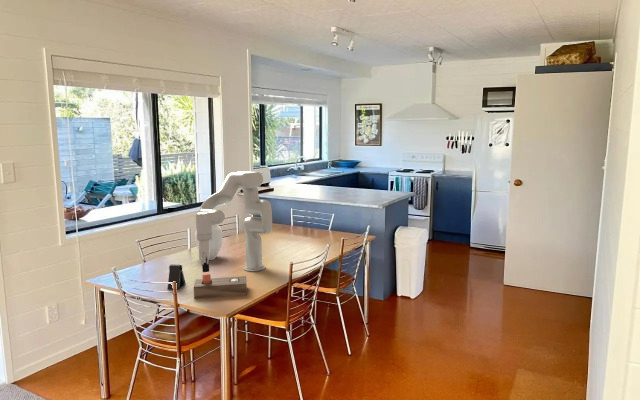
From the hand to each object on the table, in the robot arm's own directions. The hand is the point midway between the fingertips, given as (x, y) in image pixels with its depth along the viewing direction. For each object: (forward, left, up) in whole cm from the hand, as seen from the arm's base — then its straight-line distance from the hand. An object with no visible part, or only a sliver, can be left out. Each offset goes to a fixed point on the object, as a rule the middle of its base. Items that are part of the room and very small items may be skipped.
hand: (205, 271), depth 236 cm
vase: (-66, -3, -12) cm, 67 cm away
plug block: (0, +7, -12) cm, 14 cm away
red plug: (0, 0, -7) cm, 7 cm away
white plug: (0, +14, -11) cm, 18 cm away
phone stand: (-14, -17, -12) cm, 25 cm away
